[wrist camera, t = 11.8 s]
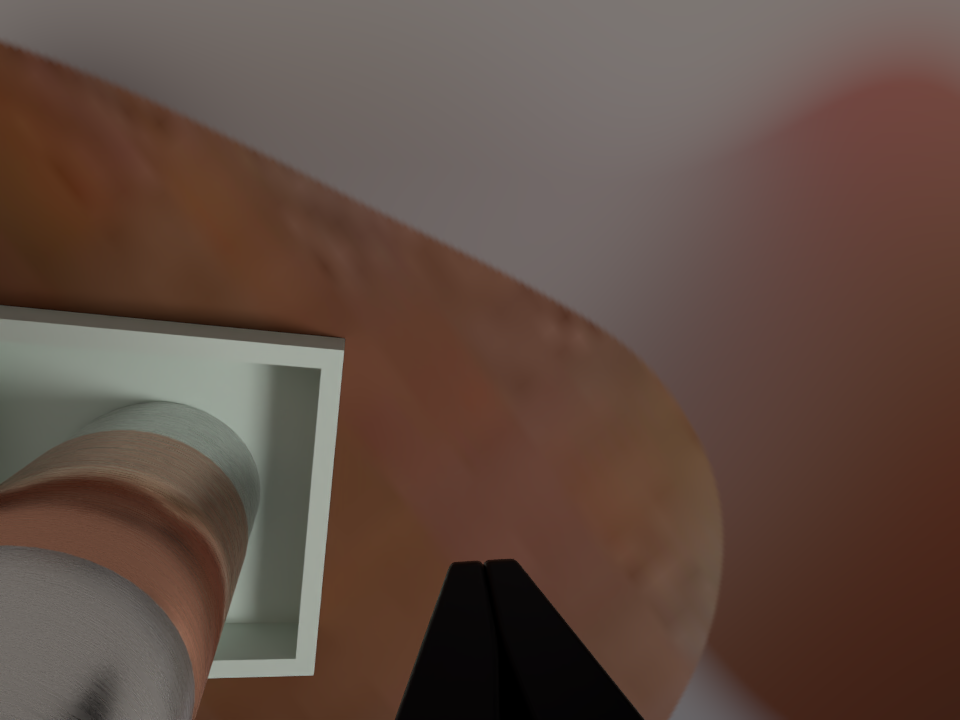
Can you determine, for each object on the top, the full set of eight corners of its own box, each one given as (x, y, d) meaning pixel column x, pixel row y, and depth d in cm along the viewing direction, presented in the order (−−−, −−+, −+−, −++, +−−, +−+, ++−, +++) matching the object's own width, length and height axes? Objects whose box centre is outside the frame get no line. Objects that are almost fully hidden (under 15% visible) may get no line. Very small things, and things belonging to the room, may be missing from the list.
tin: (189, 612, 20) (-47, 1183, 8) (7, 520, 18) (-661, 1077, 6) (300, 468, 20) (233, 822, 8) (128, 361, 18) (-308, 606, 6)
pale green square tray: (318, 627, 21) (313, 675, 19) (-23, 631, 19) (-77, 686, 17) (345, 338, 20) (344, 350, 17) (-24, 302, 17) (-84, 311, 15)
